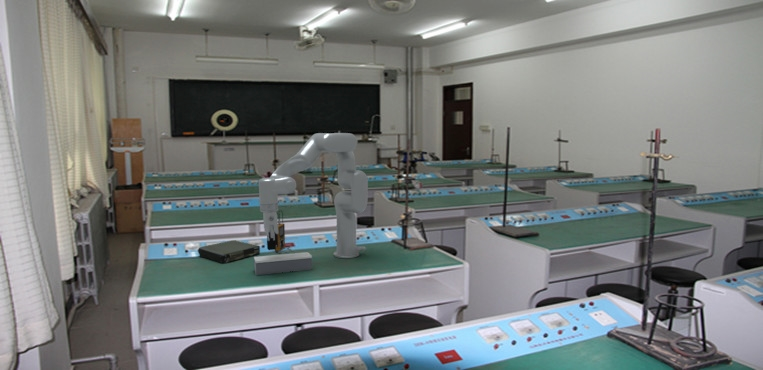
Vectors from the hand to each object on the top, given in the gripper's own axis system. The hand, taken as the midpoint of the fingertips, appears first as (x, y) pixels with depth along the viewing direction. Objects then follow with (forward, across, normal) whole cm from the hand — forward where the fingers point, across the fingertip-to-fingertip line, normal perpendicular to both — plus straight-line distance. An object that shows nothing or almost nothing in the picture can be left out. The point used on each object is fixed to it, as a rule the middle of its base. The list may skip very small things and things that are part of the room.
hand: (271, 249), depth 205 cm
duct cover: (+6, +3, -5) cm, 8 cm away
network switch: (+11, +36, +16) cm, 41 cm away
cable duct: (+11, +2, -5) cm, 12 cm away
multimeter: (+12, +36, -12) cm, 40 cm away
